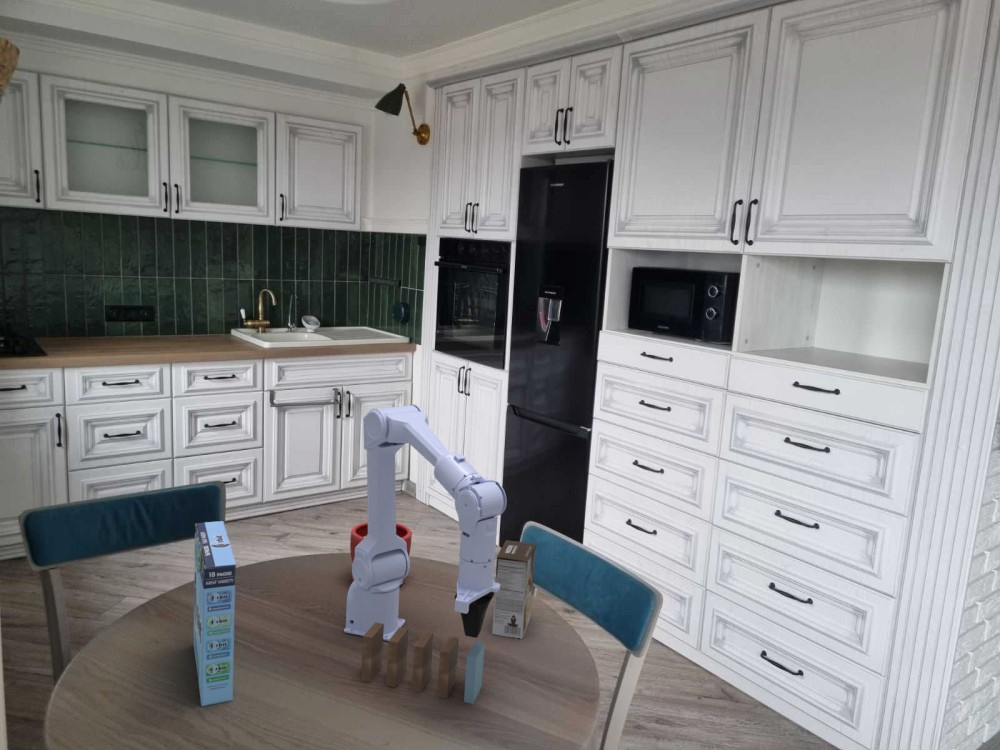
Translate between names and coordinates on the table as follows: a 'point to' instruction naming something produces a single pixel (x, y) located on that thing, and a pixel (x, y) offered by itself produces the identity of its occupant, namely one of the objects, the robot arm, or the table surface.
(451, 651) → the walnut domino
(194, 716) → the table surface
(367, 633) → the walnut domino
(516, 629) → the coffee box
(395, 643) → the walnut domino
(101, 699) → the table surface
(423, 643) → the walnut domino
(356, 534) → the plant pot
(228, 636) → the light blue carton box
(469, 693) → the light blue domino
